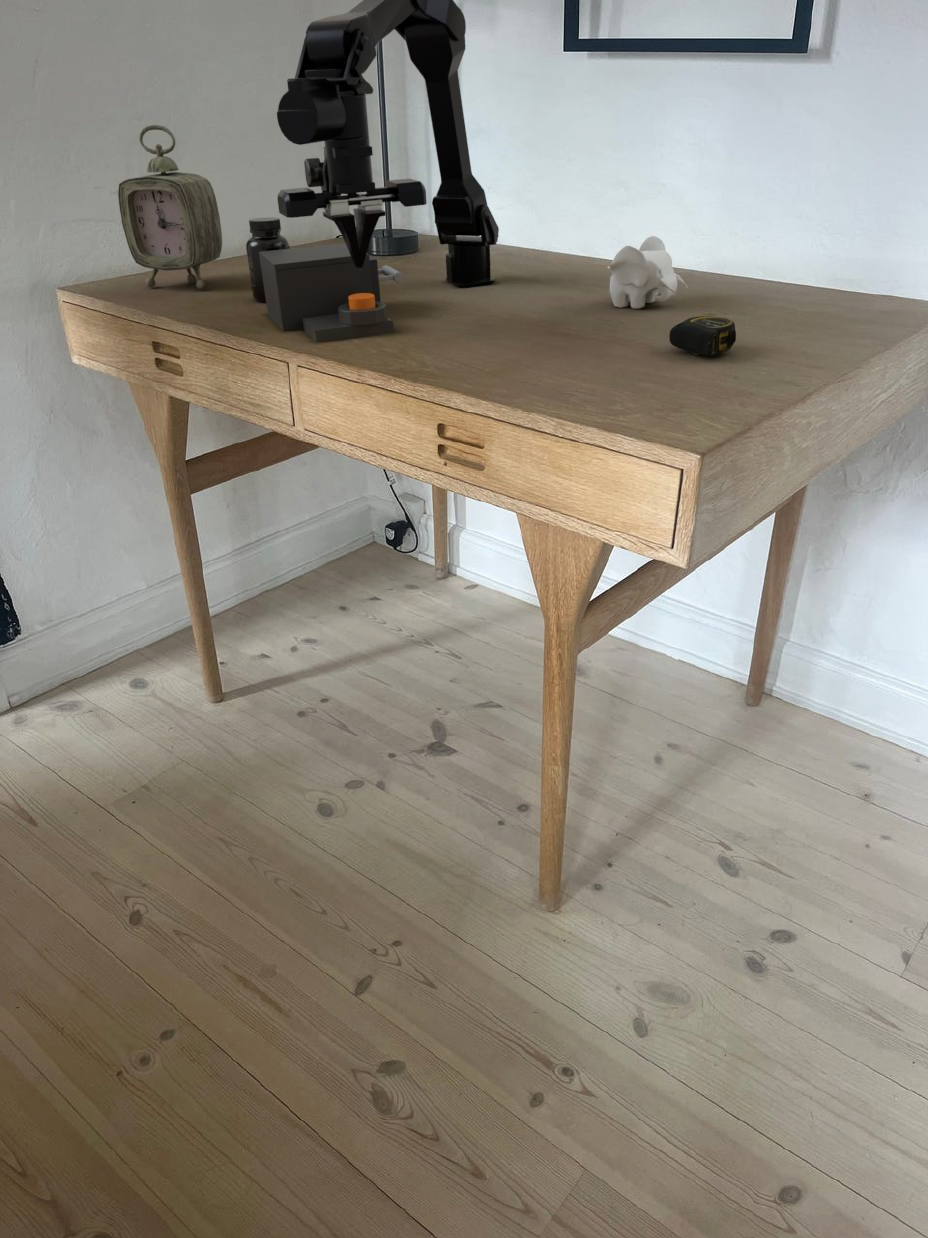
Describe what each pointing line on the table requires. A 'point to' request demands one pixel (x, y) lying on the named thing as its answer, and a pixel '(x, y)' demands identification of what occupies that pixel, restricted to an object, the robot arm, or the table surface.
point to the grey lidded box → (310, 282)
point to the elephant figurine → (642, 275)
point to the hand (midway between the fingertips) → (359, 267)
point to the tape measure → (704, 335)
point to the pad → (349, 323)
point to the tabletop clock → (170, 217)
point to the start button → (361, 301)
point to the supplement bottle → (262, 249)
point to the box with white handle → (386, 270)
